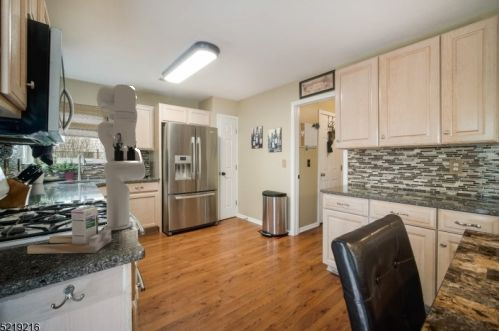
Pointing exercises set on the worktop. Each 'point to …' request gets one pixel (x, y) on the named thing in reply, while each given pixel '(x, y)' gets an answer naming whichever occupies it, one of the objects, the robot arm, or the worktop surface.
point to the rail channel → (72, 244)
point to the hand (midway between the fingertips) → (125, 160)
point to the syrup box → (84, 224)
